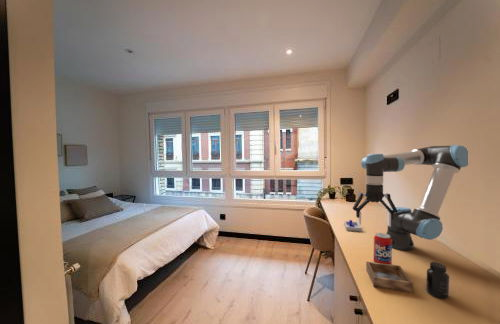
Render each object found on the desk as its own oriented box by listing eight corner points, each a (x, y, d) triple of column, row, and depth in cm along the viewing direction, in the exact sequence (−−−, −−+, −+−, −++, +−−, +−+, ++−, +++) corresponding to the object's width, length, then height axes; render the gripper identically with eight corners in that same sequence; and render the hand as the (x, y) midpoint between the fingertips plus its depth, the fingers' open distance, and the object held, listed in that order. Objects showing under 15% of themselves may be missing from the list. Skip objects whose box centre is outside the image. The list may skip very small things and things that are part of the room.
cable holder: (354, 229, 157) (354, 223, 157) (349, 228, 159) (349, 223, 158) (354, 225, 164) (354, 220, 164) (349, 225, 166) (349, 220, 166)
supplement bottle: (421, 289, 89) (422, 260, 88) (436, 288, 89) (437, 259, 89) (437, 300, 82) (438, 269, 81) (453, 299, 82) (454, 268, 82)
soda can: (383, 259, 113) (383, 231, 113) (395, 267, 105) (396, 237, 105) (369, 261, 112) (370, 232, 111) (381, 269, 104) (382, 238, 104)
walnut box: (399, 274, 100) (399, 265, 99) (412, 293, 86) (413, 283, 86) (366, 269, 104) (366, 261, 104) (373, 286, 90) (373, 277, 90)
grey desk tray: (357, 225, 166) (357, 222, 166) (361, 232, 153) (361, 228, 153) (343, 224, 169) (344, 221, 169) (346, 230, 156) (346, 226, 156)
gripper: (399, 183, 110) (398, 224, 111) (346, 182, 116) (346, 220, 117) (405, 185, 103) (405, 229, 104) (349, 184, 109) (349, 225, 110)
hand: (374, 224), depth 111 cm, fingers open, 13 cm apart
